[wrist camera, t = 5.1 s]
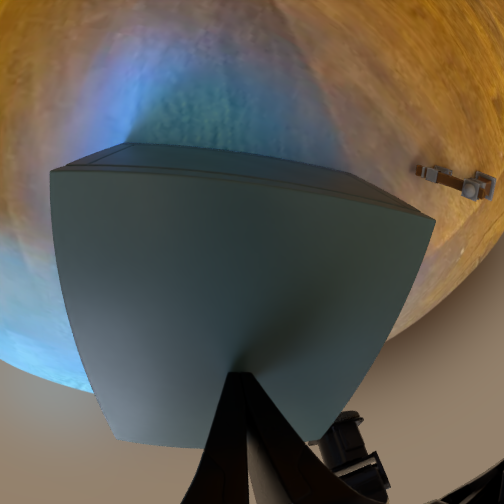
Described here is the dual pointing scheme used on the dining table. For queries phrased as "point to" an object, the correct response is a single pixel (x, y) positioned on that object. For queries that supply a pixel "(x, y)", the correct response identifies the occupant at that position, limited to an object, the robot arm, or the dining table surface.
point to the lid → (225, 293)
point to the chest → (238, 168)
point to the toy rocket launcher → (460, 182)
